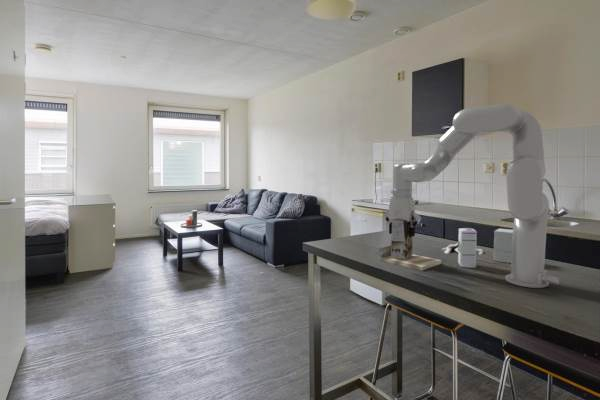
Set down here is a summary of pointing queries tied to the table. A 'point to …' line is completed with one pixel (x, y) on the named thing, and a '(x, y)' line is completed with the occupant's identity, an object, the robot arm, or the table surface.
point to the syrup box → (467, 247)
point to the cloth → (455, 249)
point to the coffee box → (401, 240)
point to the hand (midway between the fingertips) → (401, 234)
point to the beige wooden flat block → (410, 262)
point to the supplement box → (503, 245)
